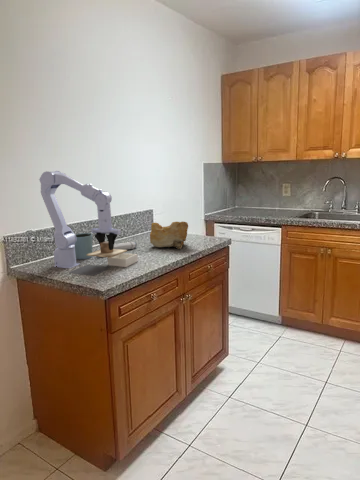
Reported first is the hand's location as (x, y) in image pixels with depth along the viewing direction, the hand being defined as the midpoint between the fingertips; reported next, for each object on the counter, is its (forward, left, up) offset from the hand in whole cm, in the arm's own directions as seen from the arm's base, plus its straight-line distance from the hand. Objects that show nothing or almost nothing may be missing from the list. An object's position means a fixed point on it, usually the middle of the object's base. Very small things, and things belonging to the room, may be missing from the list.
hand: (107, 249), depth 165 cm
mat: (-4, -7, -9) cm, 12 cm away
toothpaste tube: (-12, +26, -9) cm, 30 cm away
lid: (0, 0, -2) cm, 2 cm away
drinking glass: (-22, +11, -9) cm, 26 cm away
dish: (+4, +7, -9) cm, 11 cm away
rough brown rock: (+11, +48, -9) cm, 50 cm away
